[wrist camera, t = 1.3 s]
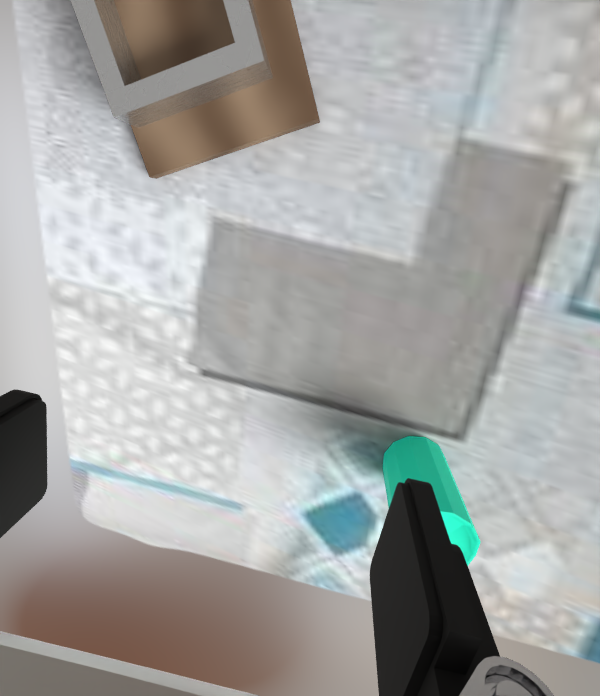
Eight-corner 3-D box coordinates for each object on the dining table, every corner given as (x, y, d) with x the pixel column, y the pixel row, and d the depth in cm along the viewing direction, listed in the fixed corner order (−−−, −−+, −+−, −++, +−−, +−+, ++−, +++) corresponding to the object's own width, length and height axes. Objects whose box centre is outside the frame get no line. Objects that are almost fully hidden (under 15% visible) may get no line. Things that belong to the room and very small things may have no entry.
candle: (373, 478, 40) (385, 581, 29) (395, 427, 38) (416, 516, 27) (431, 496, 40) (465, 607, 29) (455, 446, 38) (503, 544, 27)
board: (256, -140, 27) (252, -156, 25) (320, 122, 31) (319, 118, 30) (73, -53, 29) (62, -64, 28) (156, 178, 33) (149, 177, 32)
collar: (223, -110, 26) (206, -157, 23) (273, 78, 29) (264, 60, 26) (77, -41, 28) (42, -75, 25) (138, 128, 31) (114, 117, 28)
